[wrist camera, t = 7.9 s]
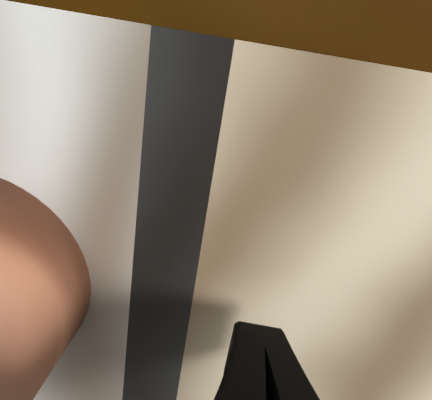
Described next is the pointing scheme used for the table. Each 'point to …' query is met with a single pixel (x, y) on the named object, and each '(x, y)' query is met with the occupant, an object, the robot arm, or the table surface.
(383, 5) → the table surface
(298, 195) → the board
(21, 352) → the puck
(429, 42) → the table surface
